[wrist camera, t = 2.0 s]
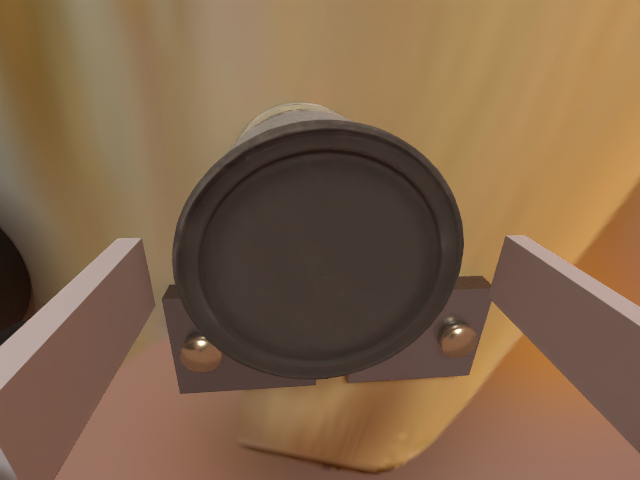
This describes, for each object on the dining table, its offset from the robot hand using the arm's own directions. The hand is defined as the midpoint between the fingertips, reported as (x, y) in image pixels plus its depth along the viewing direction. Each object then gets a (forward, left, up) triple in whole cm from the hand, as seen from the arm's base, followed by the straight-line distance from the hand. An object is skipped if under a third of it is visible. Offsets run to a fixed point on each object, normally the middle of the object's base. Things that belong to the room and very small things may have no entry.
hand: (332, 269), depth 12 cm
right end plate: (+10, -14, -14) cm, 22 cm away
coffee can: (0, 0, -14) cm, 14 cm away
